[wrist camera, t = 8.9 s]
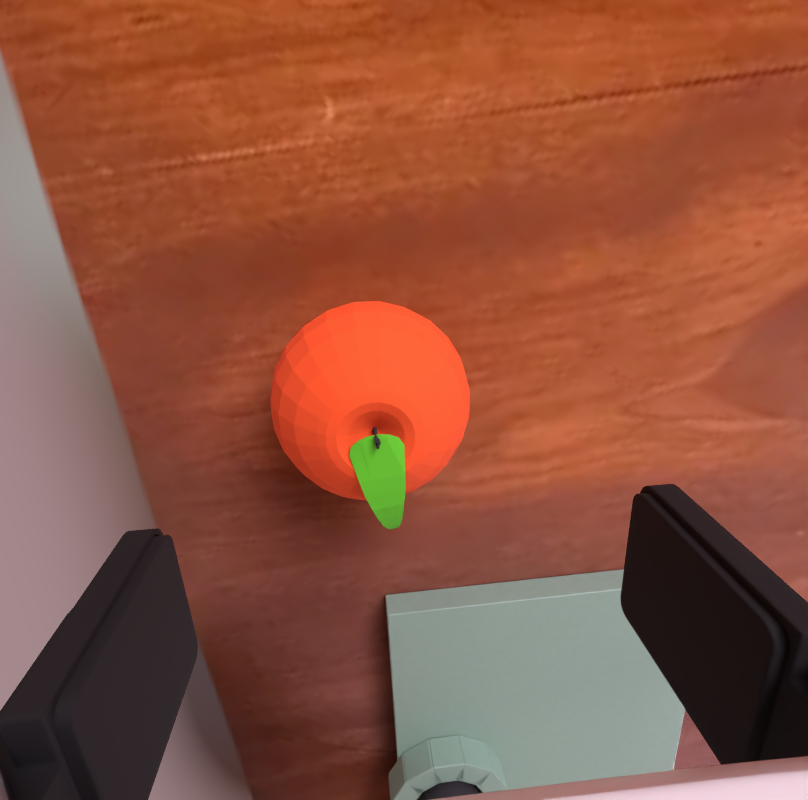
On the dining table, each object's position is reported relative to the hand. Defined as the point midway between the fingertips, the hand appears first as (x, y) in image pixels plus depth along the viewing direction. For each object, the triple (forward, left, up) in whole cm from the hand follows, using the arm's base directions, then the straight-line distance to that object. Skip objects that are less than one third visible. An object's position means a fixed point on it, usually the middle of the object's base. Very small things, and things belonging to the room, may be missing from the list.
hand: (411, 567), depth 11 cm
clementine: (0, 0, -12) cm, 12 cm away
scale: (+8, -18, -12) cm, 23 cm away
